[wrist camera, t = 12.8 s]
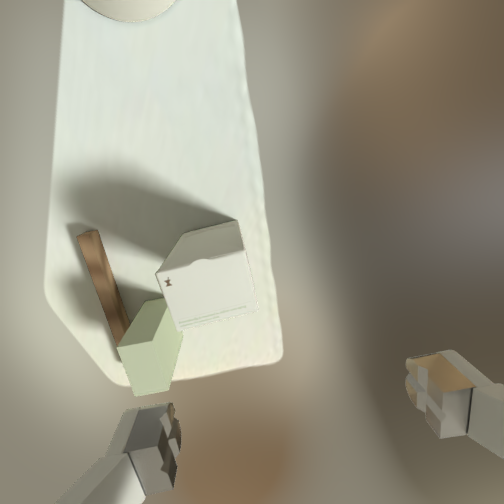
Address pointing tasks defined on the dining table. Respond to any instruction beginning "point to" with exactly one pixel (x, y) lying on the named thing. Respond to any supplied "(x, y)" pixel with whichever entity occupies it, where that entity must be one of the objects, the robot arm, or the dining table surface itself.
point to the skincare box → (208, 277)
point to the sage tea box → (150, 348)
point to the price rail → (104, 283)
